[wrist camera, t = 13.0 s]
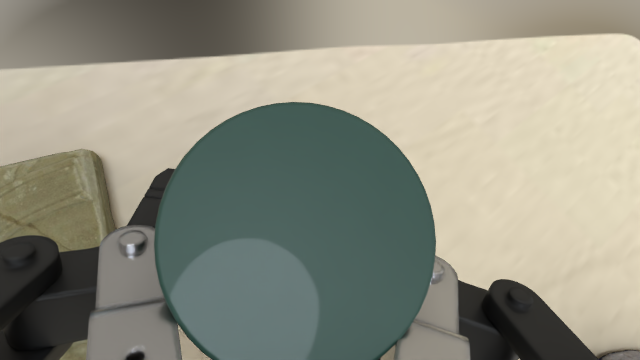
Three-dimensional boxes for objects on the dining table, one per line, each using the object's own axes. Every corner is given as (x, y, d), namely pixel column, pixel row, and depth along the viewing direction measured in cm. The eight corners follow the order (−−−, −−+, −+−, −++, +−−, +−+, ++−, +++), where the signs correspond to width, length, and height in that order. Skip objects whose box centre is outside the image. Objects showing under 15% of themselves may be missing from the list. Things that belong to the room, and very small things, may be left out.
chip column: (189, 263, 16) (84, 249, 6) (270, 176, 17) (288, 50, 7) (280, 343, 16) (321, 459, 6) (354, 249, 17) (487, 218, 7)
